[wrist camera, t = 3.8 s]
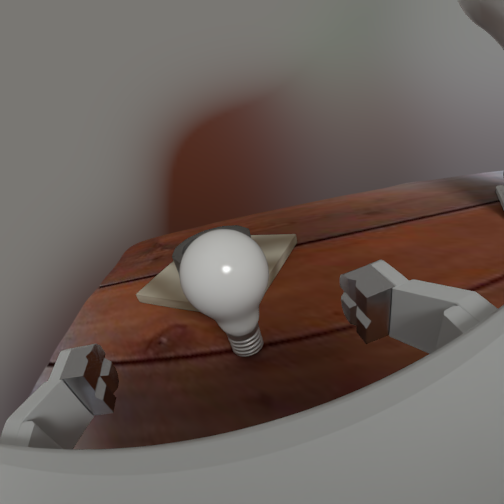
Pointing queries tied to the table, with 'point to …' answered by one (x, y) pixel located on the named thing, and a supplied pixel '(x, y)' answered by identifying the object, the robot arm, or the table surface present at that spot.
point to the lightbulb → (227, 284)
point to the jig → (168, 282)
